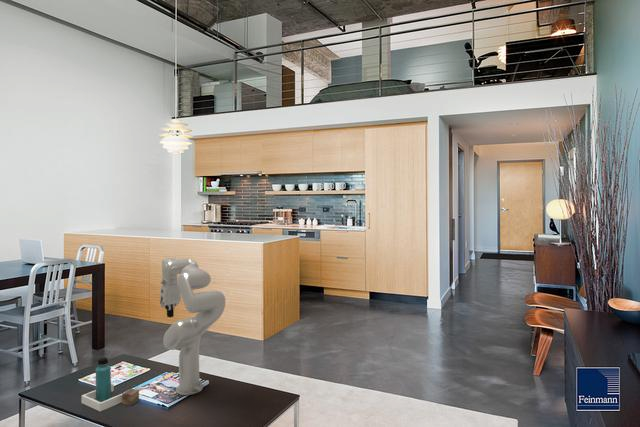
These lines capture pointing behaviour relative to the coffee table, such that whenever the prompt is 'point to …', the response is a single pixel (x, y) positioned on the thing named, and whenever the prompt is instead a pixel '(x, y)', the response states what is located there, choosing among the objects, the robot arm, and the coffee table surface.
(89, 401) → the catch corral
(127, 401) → the walnut block
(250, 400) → the coffee table surface
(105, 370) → the beverage bottle
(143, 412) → the coffee table surface
